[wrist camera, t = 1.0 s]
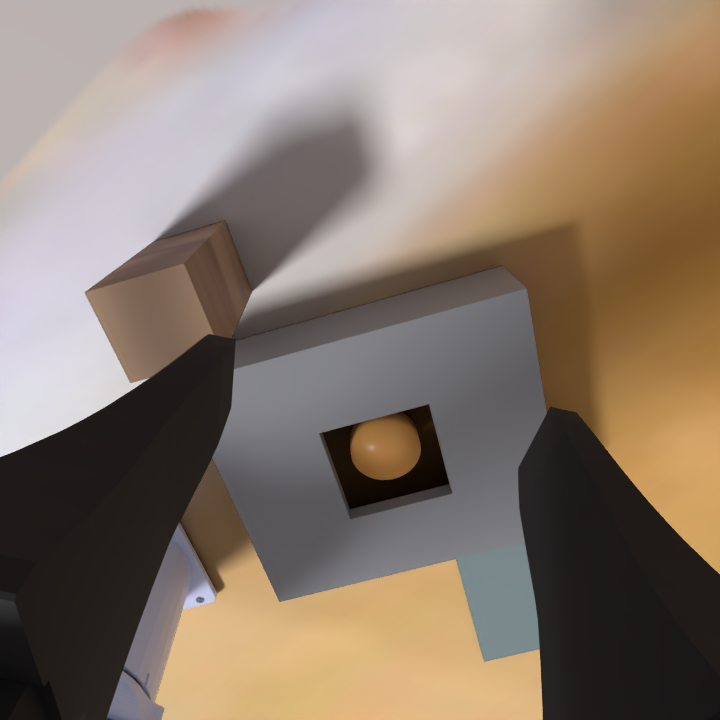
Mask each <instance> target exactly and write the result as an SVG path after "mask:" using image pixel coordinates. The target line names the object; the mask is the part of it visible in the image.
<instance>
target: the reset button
mask: <svg viewBox="0 0 720 720" xmlns="http://www.w3.org/2000/svg"><path fill="white" fill-rule="evenodd" d="M350 451H351V458H352V461H353V463H354V465H355V467H356V468H357V469H358V470H359V471H360V472H361V473H363V474H364V475H366V476H368V477H370V478H373V479H378V480H390V479H395V478H398V477H401V476H403V475H405V474H406V473H408V472H409V471H410V470H411V469H412V468H413V467H414V466H415V465H416V463H417V462H418V459H419V457H420V453H421V445H420V440H419V436H418V433H417V429H416V426H415V424H414V423H413V421H412V420H411V419H410V418H409V417H408V416H407V415H405V414H404V413H402V412H398V413H394V414H390V415H386V416H383V417H379V418H375V419H371V420H367V421H364V422H360V423H356V424H354V426H353V428H352V430H351V434H350Z"/></svg>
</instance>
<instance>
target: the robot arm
mask: <svg viewBox="0 0 720 720" xmlns="http://www.w3.org/2000/svg"><path fill="white" fill-rule="evenodd" d="M235 345H236V340H235V339H231V338H226V337H221V336H217V335H212V334H208V335H206V336H205V337H203V338H202V339H201V340H199V341H198V342H197V343H195V344H194V345H193V346H192V347H190V348H189V349H188V350H187V351H185V352H184V353H183V354H181V355H180V356H179V357H178V358H176V359H175V360H174V361H172V362H171V363H170V364H168V365H167V366H166V367H164V368H163V369H162V370H160V371H159V372H157V373H156V374H155V375H153V376H152V377H150V378H149V379H148V380H146V381H145V382H143V383H142V384H141V385H139V386H138V387H136V388H135V389H133V390H131V391H130V392H128V393H127V394H125V395H124V396H122V397H120V398H119V399H117V400H116V401H114V402H113V403H111V404H110V405H108V406H106V407H105V408H103V409H101V410H99V411H98V412H96V413H94V414H92V415H91V416H89V417H87V418H85V419H83V420H82V421H80V422H78V423H76V424H74V425H72V426H70V427H68V428H66V429H64V430H62V431H60V432H58V433H56V434H54V435H51V436H49V437H47V438H44V439H42V440H40V441H38V442H35V443H33V444H31V445H29V446H26V447H24V448H22V449H20V450H17V451H15V452H13V453H10V454H8V455H5V456H2V457H0V720H161V719H162V716H163V712H164V708H163V707H162V706H160V705H157V704H156V703H155V700H156V696H157V693H158V690H159V686H160V683H161V680H162V676H163V673H164V670H165V666H166V663H167V660H168V656H169V653H170V650H171V646H172V643H173V640H174V636H175V633H176V630H177V627H178V623H179V620H180V617H181V613H182V610H184V609H188V608H192V607H196V606H201V605H205V604H209V603H212V602H214V601H215V600H216V596H217V592H216V590H215V588H214V586H213V584H212V582H211V580H210V579H209V577H208V575H207V573H206V571H205V569H204V567H203V565H202V563H201V562H200V560H199V558H198V556H197V554H196V552H195V550H194V548H193V546H192V544H191V543H190V541H189V539H188V537H187V535H186V533H185V531H184V529H183V527H182V526H181V524H180V520H181V518H182V516H183V514H184V512H185V510H186V508H187V506H188V504H189V502H190V500H191V498H192V496H193V494H194V492H195V490H196V488H197V486H198V484H199V482H200V480H201V479H202V477H203V475H204V473H205V471H206V469H207V467H208V465H209V463H210V461H211V459H212V457H213V455H214V453H215V450H216V448H217V446H218V444H219V441H220V438H221V436H222V433H223V430H224V427H225V425H226V422H227V419H228V416H229V413H230V410H231V405H232V390H233V375H234V360H235ZM518 493H519V510H520V517H521V523H522V529H523V535H524V540H525V546H526V552H527V557H528V563H529V569H530V574H531V580H532V585H533V591H534V597H535V603H536V611H537V618H538V631H539V646H540V660H541V681H542V704H543V720H720V574H719V573H718V572H717V571H715V570H714V569H713V568H712V567H711V566H710V565H709V564H708V563H707V562H706V561H705V560H704V559H703V558H702V557H701V556H700V555H699V554H698V553H697V552H696V551H695V550H694V549H693V548H692V547H690V546H689V545H688V544H687V543H686V542H685V541H684V540H683V539H682V538H681V537H680V536H679V534H678V533H677V532H676V531H675V530H674V529H673V528H672V527H671V526H670V525H669V524H668V523H667V522H666V521H665V519H664V518H663V517H662V516H661V515H660V514H659V513H658V512H657V511H656V509H655V508H654V507H653V506H652V505H651V504H650V503H649V502H648V500H647V499H646V498H645V497H644V496H643V495H642V493H641V492H640V491H639V490H638V489H637V487H636V486H635V485H634V484H633V483H632V481H631V480H630V479H629V478H628V476H627V475H626V474H625V473H624V472H623V470H622V469H621V468H620V467H619V465H618V464H617V463H616V461H615V460H614V459H613V458H612V456H611V455H610V454H609V453H608V451H607V450H606V449H605V447H604V446H603V445H602V444H601V442H600V441H599V440H598V438H597V437H596V436H595V435H594V433H593V432H592V431H591V430H590V428H589V427H588V426H587V425H586V423H585V422H584V421H583V420H582V419H581V417H580V416H579V415H578V414H577V413H576V412H571V411H566V410H562V409H557V408H552V407H550V408H549V410H548V412H547V414H546V416H545V418H544V420H543V422H542V423H541V425H540V427H539V429H538V431H537V433H536V435H535V437H534V439H533V441H532V443H531V444H530V446H529V448H528V450H527V452H526V454H525V456H524V458H523V460H522V462H521V463H520V465H519V467H518ZM200 597H203V598H200Z"/></svg>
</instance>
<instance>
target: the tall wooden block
mask: <svg viewBox="0 0 720 720" xmlns="http://www.w3.org/2000/svg"><path fill="white" fill-rule="evenodd" d="M251 293H252V290H251V287H250V285H249V282H248V279H247V277H246V274H245V271H244V269H243V266H242V263H241V261H240V258H239V255H238V253H237V250H236V247H235V245H234V242H233V239H232V237H231V234H230V231H229V229H228V226H227V223H226V221H222V222H218V223H215V224H212V225H208V226H205V227H202V228H198V229H195V230H191V231H188V232H185V233H181V234H178V235H175V236H171V237H168V238H165V239H161V240H158V241H154V242H152V243H151V244H150V245H148V246H147V247H146V248H144V249H143V250H141V251H140V252H139V253H137V254H136V255H135V256H133V257H132V258H131V259H129V260H128V261H127V262H125V263H124V264H123V265H121V266H120V267H118V268H117V269H116V270H114V271H113V272H112V273H110V274H109V275H108V276H106V277H105V278H104V279H102V280H101V281H100V282H98V283H97V284H95V285H94V286H93V287H91V288H90V289H89V290H87V291H86V292H85V294H86V296H87V298H88V300H89V302H90V304H91V306H92V308H93V310H94V312H95V314H96V316H97V318H98V320H99V322H100V324H101V326H102V328H103V330H104V332H105V334H106V336H107V338H108V340H109V342H110V344H111V346H112V348H113V350H114V352H115V354H116V355H117V357H118V359H119V361H120V363H121V365H122V367H123V369H124V371H125V373H126V375H127V377H128V379H129V381H130V383H133V382H136V381H140V380H143V379H147V378H150V377H152V376H153V375H155V374H156V373H157V372H159V371H160V370H162V369H163V368H164V367H166V366H167V365H168V364H170V363H171V362H172V361H174V360H175V359H176V358H178V357H179V356H180V355H181V354H183V353H184V352H185V351H187V350H188V349H189V348H190V347H192V346H193V345H194V344H195V343H197V342H198V341H199V340H201V339H202V338H203V337H205V336H206V335H208V334H212V335H217V336H221V337H226V338H232V336H233V334H234V332H235V329H236V327H237V325H238V322H239V320H240V318H241V316H242V313H243V311H244V309H245V307H246V304H247V302H248V300H249V298H250V295H251Z"/></svg>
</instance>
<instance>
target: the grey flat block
mask: <svg viewBox="0 0 720 720" xmlns="http://www.w3.org/2000/svg"><path fill="white" fill-rule="evenodd" d="M428 404H429V407H430V411H431V415H432V419H433V423H434V426H435V430H436V434H437V438H438V442H439V446H440V449H441V453H442V457H443V461H444V465H445V469H446V472H447V476H448V480H449V484H448V485H444V486H440V487H436V488H432V489H428V490H424V491H420V492H416V493H412V494H409V495H405V496H401V497H397V498H393V499H389V500H385V501H381V502H377V503H373V504H369V505H365V506H361V507H357V508H353V509H350V508H349V506H348V503H347V500H346V497H345V495H344V492H343V489H342V486H341V484H340V481H339V478H338V475H337V472H336V470H335V467H334V464H333V461H332V459H331V456H330V453H329V450H328V448H327V445H326V442H325V439H324V436H323V434H322V432H326V431H330V430H333V429H337V428H341V427H345V426H349V425H352V424H356V423H360V422H364V421H367V420H371V419H375V418H379V417H383V416H386V415H390V414H394V413H398V412H401V411H405V410H409V409H413V408H416V407H420V406H424V405H428ZM546 414H547V411H546V405H545V398H544V392H543V386H542V380H541V373H540V367H539V361H538V355H537V348H536V342H535V336H534V330H533V323H532V317H531V311H530V305H529V298H528V292H527V288H526V287H525V286H524V285H523V284H522V283H521V282H519V281H518V280H517V279H516V278H515V277H514V276H513V275H512V274H511V273H510V272H509V271H508V270H507V269H505V268H504V267H503V266H500V267H496V268H493V269H489V270H486V271H482V272H479V273H475V274H471V275H468V276H464V277H461V278H457V279H454V280H450V281H447V282H443V283H439V284H436V285H432V286H429V287H425V288H422V289H418V290H414V291H411V292H407V293H404V294H400V295H397V296H393V297H389V298H386V299H382V300H379V301H375V302H372V303H368V304H365V305H361V306H357V307H354V308H350V309H347V310H343V311H340V312H336V313H332V314H329V315H325V316H322V317H318V318H315V319H311V320H308V321H304V322H300V323H297V324H293V325H290V326H286V327H283V328H279V329H275V330H272V331H268V332H265V333H261V334H258V335H254V336H251V337H247V338H243V339H240V340H236V345H235V360H234V375H233V390H232V405H231V410H230V413H229V416H228V419H227V422H226V425H225V427H224V430H223V433H222V436H221V438H220V441H219V444H218V446H217V448H216V450H215V453H214V455H213V457H212V459H213V461H214V463H215V465H216V467H217V469H218V472H219V474H220V476H221V478H222V480H223V482H224V484H225V486H226V489H227V491H228V493H229V495H230V497H231V499H232V501H233V504H234V506H235V508H236V510H237V512H238V514H239V516H240V519H241V521H242V523H243V525H244V527H245V529H246V531H247V533H248V536H249V538H250V540H251V542H252V544H253V546H254V548H255V551H256V553H257V555H258V557H259V559H260V561H261V563H262V565H263V568H264V570H265V572H266V574H267V576H268V578H269V580H270V583H271V585H272V587H273V589H274V591H275V593H276V595H277V598H278V600H279V602H281V601H285V600H289V599H293V598H298V597H302V596H306V595H310V594H314V593H318V592H322V591H326V590H330V589H334V588H339V587H343V586H347V585H351V584H355V583H359V582H363V581H367V580H371V579H375V578H380V577H384V576H388V575H392V574H396V573H400V572H404V571H408V570H412V569H416V568H421V567H425V566H429V565H433V564H437V563H441V562H445V561H449V560H453V559H458V558H462V557H466V556H470V555H474V554H478V553H482V552H486V551H490V550H494V549H499V548H503V547H507V546H511V545H515V544H519V543H523V542H525V540H524V535H523V529H522V523H521V517H520V510H519V493H518V467H519V465H520V463H521V462H522V460H523V458H524V456H525V454H526V452H527V450H528V448H529V446H530V444H531V443H532V441H533V439H534V437H535V435H536V433H537V431H538V429H539V427H540V425H541V423H542V422H543V420H544V418H545V416H546Z"/></svg>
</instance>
